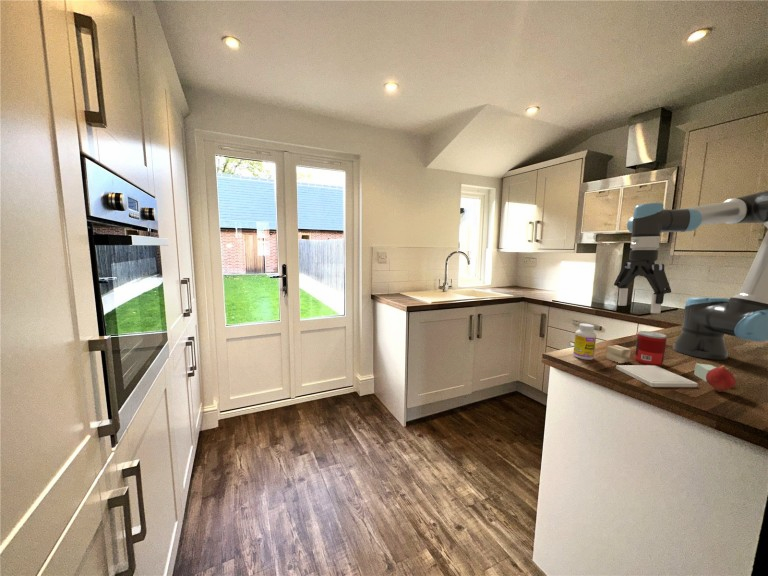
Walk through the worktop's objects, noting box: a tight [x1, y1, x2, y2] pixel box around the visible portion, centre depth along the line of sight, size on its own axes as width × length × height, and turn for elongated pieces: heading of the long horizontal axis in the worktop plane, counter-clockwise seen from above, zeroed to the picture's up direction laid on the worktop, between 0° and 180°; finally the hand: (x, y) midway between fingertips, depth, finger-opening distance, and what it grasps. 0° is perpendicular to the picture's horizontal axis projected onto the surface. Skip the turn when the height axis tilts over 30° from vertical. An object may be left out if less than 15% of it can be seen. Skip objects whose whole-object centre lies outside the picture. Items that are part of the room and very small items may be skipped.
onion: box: [706, 365, 737, 392], centre depth 88 cm, size 6×6×8 cm
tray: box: [615, 364, 699, 388], centre depth 97 cm, size 14×14×1 cm
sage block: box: [693, 363, 717, 383], centre depth 96 cm, size 4×6×4 cm, turn 160°
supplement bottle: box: [572, 323, 597, 361], centre depth 114 cm, size 7×7×13 cm
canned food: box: [634, 330, 668, 367], centre depth 110 cm, size 8×8×11 cm
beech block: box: [605, 344, 632, 364], centre depth 112 cm, size 5×5×5 cm
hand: (637, 309), depth 106 cm, fingers open, 13 cm apart
